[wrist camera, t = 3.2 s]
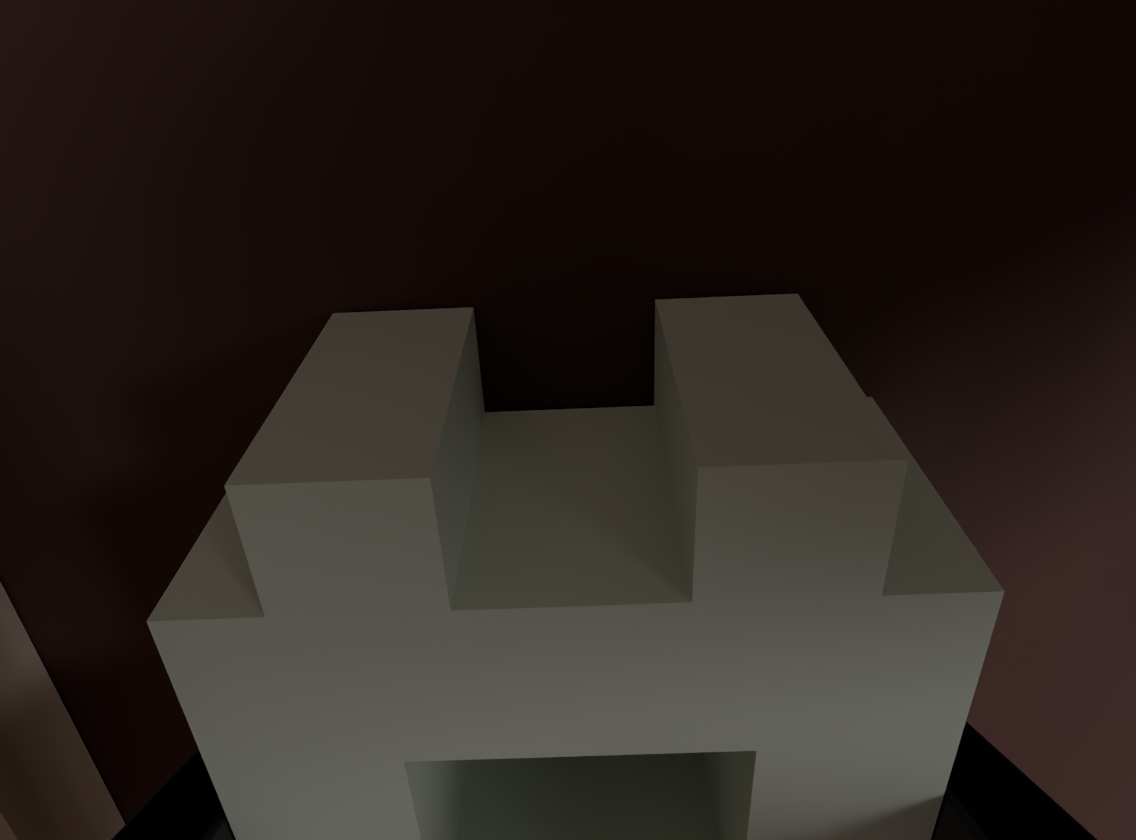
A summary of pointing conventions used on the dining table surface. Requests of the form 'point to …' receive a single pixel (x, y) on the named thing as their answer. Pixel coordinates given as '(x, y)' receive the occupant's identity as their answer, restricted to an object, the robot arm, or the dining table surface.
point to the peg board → (43, 752)
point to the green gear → (579, 599)
